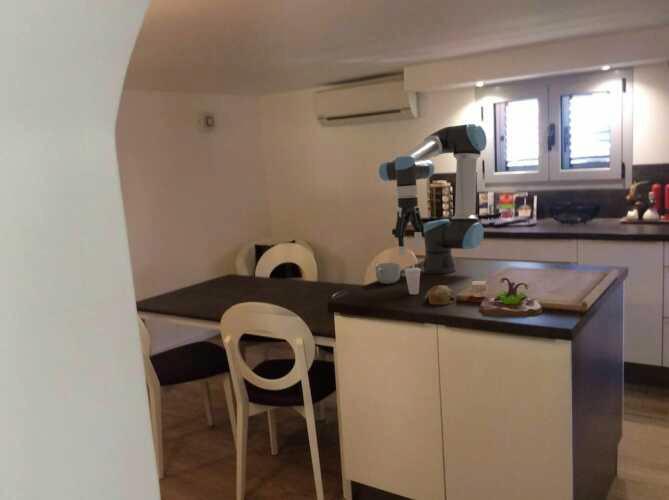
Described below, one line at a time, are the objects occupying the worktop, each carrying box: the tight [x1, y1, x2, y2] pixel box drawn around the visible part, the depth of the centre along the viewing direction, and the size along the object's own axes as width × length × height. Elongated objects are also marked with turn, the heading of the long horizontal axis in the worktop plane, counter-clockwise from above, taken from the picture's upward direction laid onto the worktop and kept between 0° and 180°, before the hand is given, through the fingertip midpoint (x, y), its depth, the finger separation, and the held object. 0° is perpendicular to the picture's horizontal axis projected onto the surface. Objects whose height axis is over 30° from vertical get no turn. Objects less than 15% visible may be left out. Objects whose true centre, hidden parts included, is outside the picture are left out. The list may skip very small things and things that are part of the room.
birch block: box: [470, 280, 488, 292], centre depth 223 cm, size 5×5×5 cm
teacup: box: [374, 262, 401, 285], centre depth 258 cm, size 14×11×8 cm
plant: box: [479, 277, 543, 318], centre depth 201 cm, size 20×20×11 cm
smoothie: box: [404, 257, 421, 295], centre depth 235 cm, size 6×6×14 cm
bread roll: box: [424, 284, 456, 306], centre depth 219 cm, size 10×10×8 cm
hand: (411, 251), depth 234 cm, fingers open, 13 cm apart
